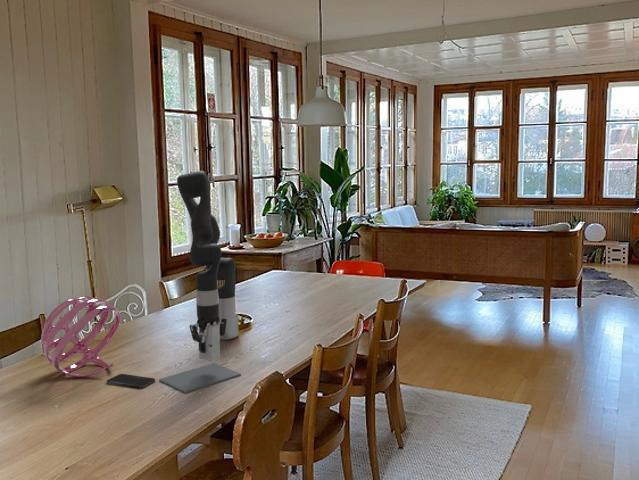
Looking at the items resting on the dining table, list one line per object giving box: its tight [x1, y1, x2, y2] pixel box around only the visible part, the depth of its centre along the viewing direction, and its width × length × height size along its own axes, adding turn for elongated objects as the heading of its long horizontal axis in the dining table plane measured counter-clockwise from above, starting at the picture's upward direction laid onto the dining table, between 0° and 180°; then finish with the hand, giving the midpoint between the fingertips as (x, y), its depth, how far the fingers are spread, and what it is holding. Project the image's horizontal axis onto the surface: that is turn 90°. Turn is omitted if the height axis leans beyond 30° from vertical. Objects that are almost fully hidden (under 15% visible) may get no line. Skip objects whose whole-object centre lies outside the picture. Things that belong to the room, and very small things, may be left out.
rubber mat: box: [158, 362, 242, 394], centre depth 206 cm, size 22×16×1 cm
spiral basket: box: [40, 295, 122, 378], centre depth 213 cm, size 28×28×27 cm
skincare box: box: [198, 324, 221, 362], centre depth 209 cm, size 6×4×12 cm
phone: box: [106, 373, 156, 390], centre depth 203 cm, size 8×1×15 cm
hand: (209, 350), depth 209 cm, fingers closed on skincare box, 5 cm apart
